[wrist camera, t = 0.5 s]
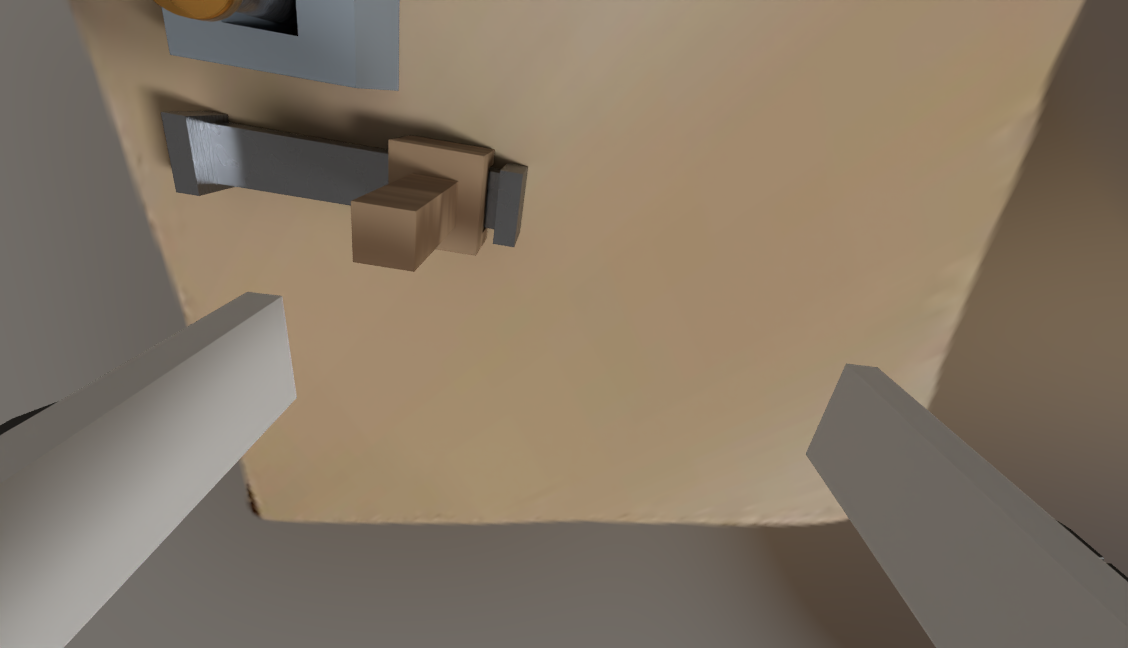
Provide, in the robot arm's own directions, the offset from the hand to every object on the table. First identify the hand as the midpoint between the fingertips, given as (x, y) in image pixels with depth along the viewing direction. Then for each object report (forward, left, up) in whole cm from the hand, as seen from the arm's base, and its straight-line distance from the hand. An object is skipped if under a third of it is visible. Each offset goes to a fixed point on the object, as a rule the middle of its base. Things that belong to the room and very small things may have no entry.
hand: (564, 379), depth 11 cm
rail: (+1, -15, -26) cm, 30 cm away
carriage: (+1, -9, -26) cm, 28 cm away
